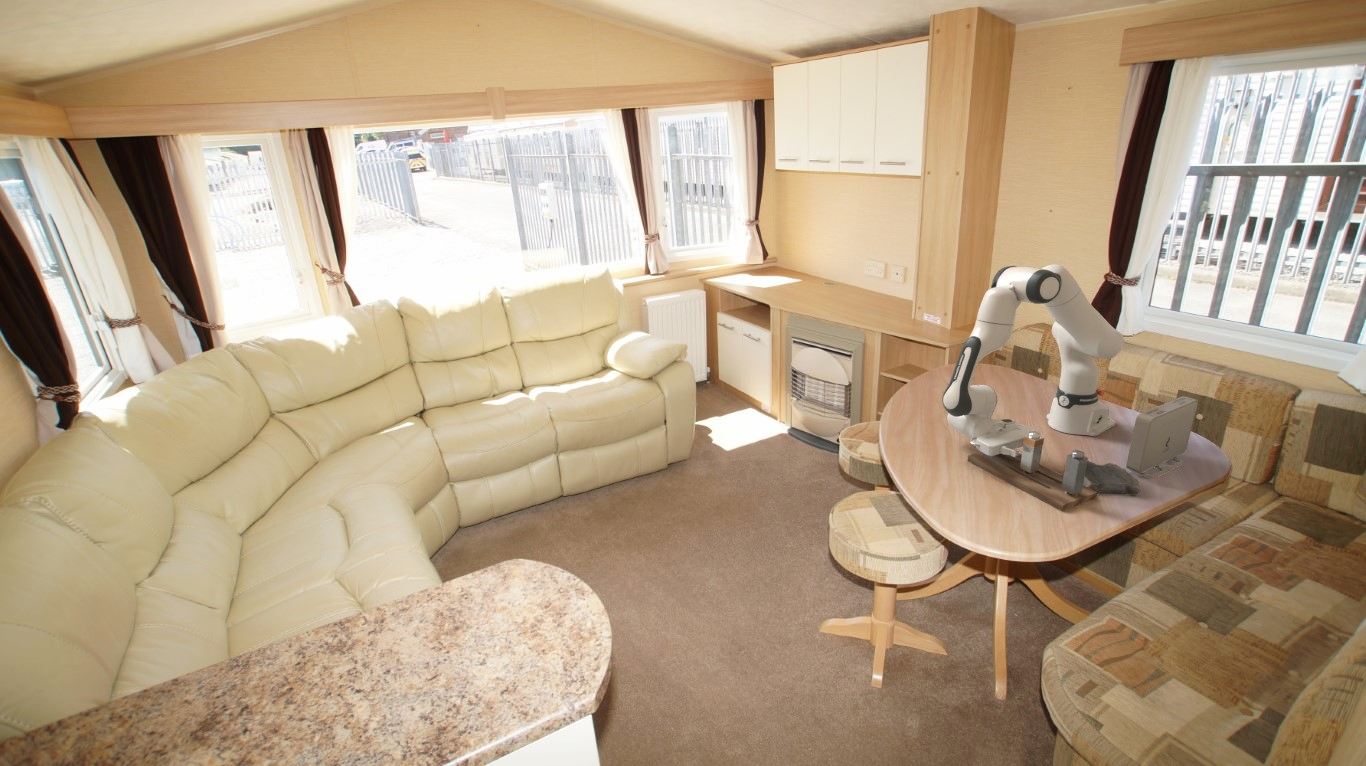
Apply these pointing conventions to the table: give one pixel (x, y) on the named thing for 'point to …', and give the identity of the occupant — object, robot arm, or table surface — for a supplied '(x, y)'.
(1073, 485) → the fixed leg
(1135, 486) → the fossil
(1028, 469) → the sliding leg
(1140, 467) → the network device
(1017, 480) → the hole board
